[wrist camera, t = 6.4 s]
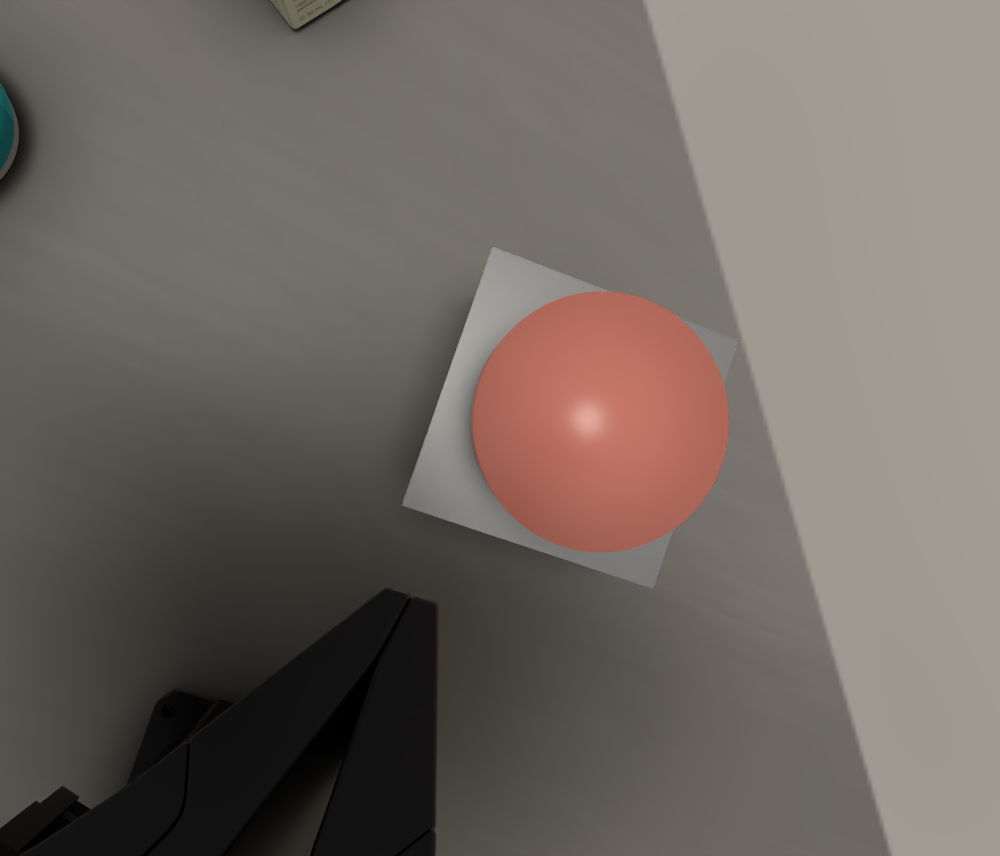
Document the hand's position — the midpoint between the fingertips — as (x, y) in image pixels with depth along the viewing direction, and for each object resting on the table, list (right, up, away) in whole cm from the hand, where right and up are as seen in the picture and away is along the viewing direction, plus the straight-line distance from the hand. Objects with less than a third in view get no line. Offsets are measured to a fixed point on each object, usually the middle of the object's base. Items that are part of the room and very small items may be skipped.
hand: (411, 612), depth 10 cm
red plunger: (+3, +3, +11) cm, 12 cm away
